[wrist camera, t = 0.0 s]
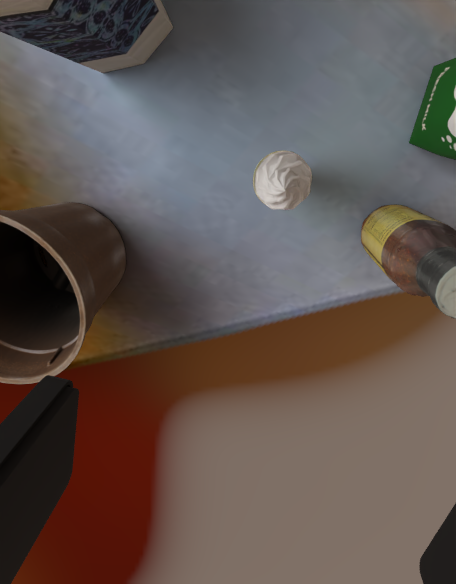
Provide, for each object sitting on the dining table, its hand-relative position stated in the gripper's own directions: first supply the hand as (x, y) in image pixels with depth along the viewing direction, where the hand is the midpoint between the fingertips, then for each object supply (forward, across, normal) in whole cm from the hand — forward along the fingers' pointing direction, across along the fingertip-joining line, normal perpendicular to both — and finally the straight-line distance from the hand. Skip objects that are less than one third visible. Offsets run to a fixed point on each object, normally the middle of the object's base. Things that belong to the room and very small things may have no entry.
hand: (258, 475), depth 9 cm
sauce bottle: (+38, -13, -1) cm, 40 cm away
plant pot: (+38, +21, +11) cm, 44 cm away
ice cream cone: (+38, 0, -4) cm, 38 cm away
